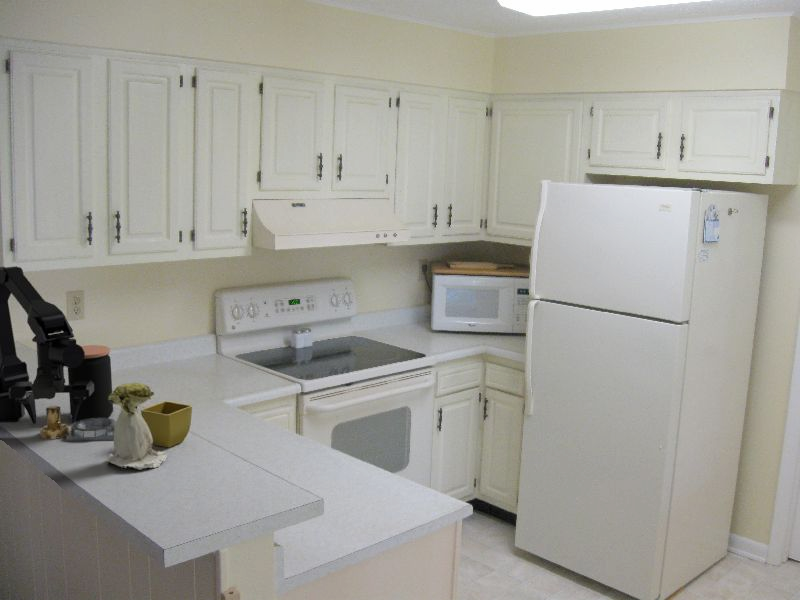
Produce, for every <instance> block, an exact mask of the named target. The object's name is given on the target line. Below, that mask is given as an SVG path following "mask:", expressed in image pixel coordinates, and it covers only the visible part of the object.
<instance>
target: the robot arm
mask: <svg viewBox="0 0 800 600" xmlns="http://www.w3.org/2000/svg"><path fill="white" fill-rule="evenodd" d="M11 295H12V296H13V298H14V299H15V300H16V301H17V302H18V303H19V305H20V306H21V308H22V309H23V310H24V312H25V313H26V314H27V318H26V319H27V320H26V321H27V324H28V326H29V328H30V330H31V332H32V333H33V335H34V337H33V338H32V339H31V341H32V342H34V343H36V356H37V357H36V358H37V368H36V375H35V378H34V381H33V382H32V381H30V375H29V372H28V365H27V363H26V361H22V360H21V359H20V358H19V357H18V354H17V348H16V343H15V337H14V332H13V330H14V329H13V325H12V319H11V318H12V317H11V312H10V307H9V300H10V297H11ZM81 346H82V345H80V344H77V339H76V338H75V334H74V333H73V329H72V326H71V325H70V322H69V321H68V320H67V316H65V314H64V312H63V311H62V310H61V309H60V308H59V307H58V306H57V305H56V304H53V303H51V302H48V301H46V300H45V299H44V298H43V296H41V294H40V293H39V291H37V289H36V288H35V287H34V286H33V285H32V283H31V282H30V281H29V279H28V277H26V276H25V274H24V270H23V269H22V267H21V266H20V267H19V266H8V267H7V266H0V422H4V423H5V422H18V421H20V419H22V418H23V416H25V415H26V413H27V415H28V416H29V418H30V420H31V423H32V424H33V425H36V423H37V411H36V400H40V399H41V400H43V399H44V400H45V399H47V400H53V399H54V398H55V397H56V394H66V393H68V394H69V393H72V395H73V397H72V399H71V401H72V416H71V423H72V424H73V423H75V422H76V417H77V414H78V410H79V407H80V405H81V402H82V400H84V399H85V398H86V397H89V396H90V395H91V394H92V393H93V392H94V383H93V382H92V381H91V380H87V381H76V382H75V383H74V384H73V385H69V384H65V383H66V378H65V371H64V367H66V368H68V367H69V368H76V367H78V366H79V365H81V363H82V362H83V360H84V357H85V352H84V350H83V348H82V347H81ZM25 410H26V411H25Z"/></svg>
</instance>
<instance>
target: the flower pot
mask: <svg viewBox="0 0 800 600" xmlns="http://www.w3.org/2000/svg"><path fill="white" fill-rule="evenodd" d="M192 413H193V405H190V404H185V403H177V402H172V401H165V400H164V401H162V402H159V403H156V404H154V405H151V406H147V407H145V408H142V409H140V415H141V416H142V417H143V419H144V420H145V422H146V424H147V425H148V428H149V430H150V432H151V435H152V440H153V443H152V445H156V446H159V447H165V448H172V447H174V446H176V445H179V444H181V443H183V442H184V441H185V440H186V438H187V436H188V434H189V432H190V428H191V425H192V424H191V423H192Z"/></svg>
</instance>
